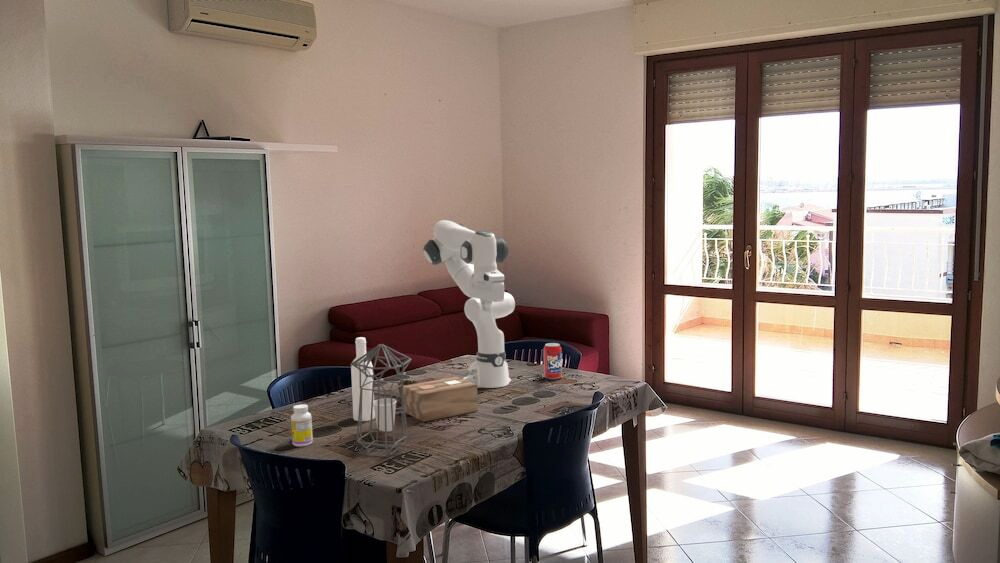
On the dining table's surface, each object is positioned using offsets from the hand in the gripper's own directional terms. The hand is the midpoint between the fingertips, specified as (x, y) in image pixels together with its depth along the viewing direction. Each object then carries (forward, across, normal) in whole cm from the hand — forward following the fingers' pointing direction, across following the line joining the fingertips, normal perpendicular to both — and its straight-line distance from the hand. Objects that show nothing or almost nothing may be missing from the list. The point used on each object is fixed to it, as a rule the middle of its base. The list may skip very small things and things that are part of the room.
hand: (486, 311), depth 289 cm
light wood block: (+37, -7, -17) cm, 41 cm away
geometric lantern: (+37, +23, -53) cm, 69 cm away
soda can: (+37, -23, +47) cm, 64 cm away
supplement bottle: (+37, -1, -72) cm, 81 cm away
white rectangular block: (+36, -7, -11) cm, 38 cm away
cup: (+37, -27, -21) cm, 51 cm away
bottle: (+37, -16, -44) cm, 60 cm away
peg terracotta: (+36, -7, -22) cm, 43 cm away
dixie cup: (+37, +1, -43) cm, 57 cm away
